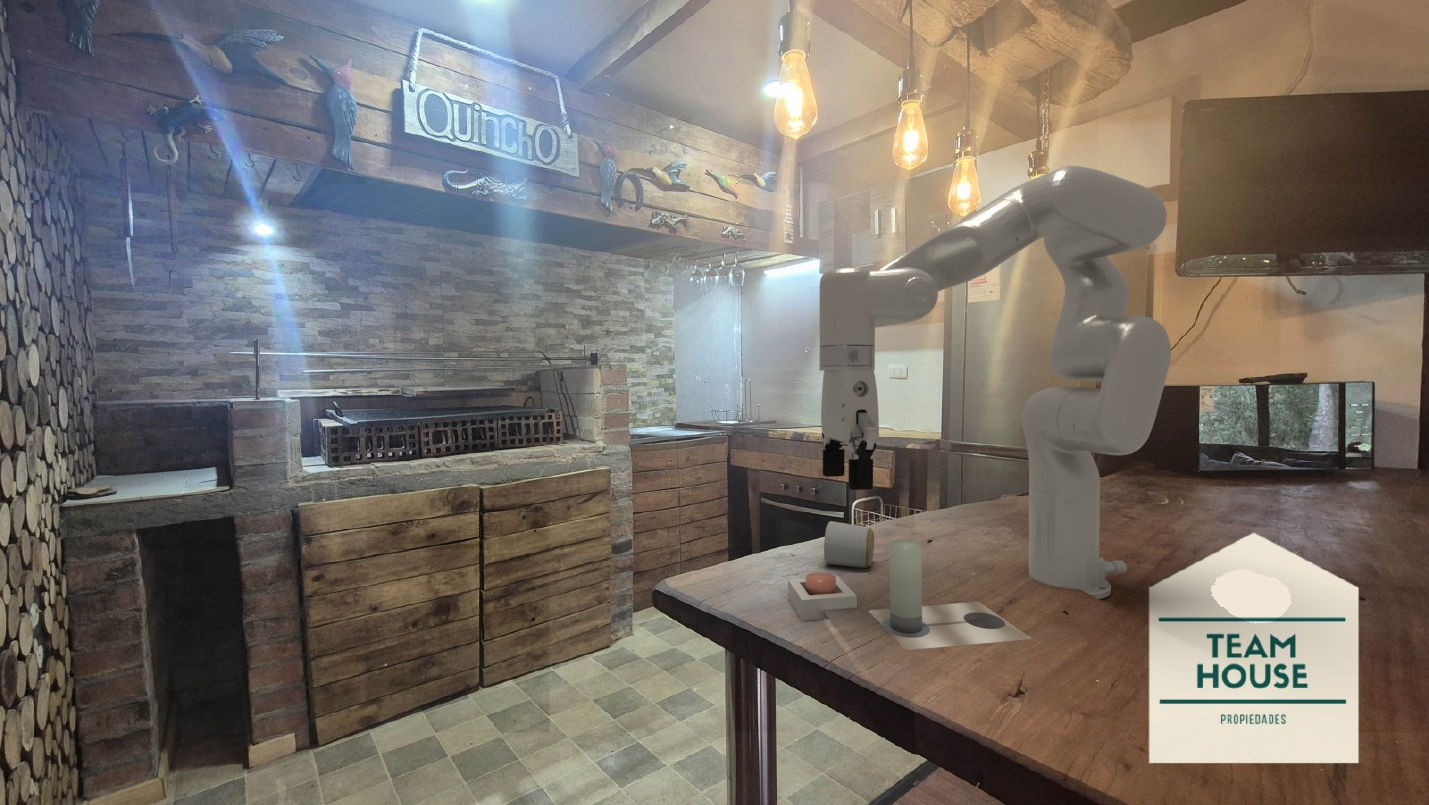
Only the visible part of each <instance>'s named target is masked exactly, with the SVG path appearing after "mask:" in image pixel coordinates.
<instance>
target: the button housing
mask: <svg viewBox="0 0 1429 805" xmlns="http://www.w3.org/2000/svg"><path fill="white" fill-rule="evenodd" d="M834 576H835V577H836V593H835V594H822V595H811V594H809V593H807V591H806V577H805V578H793V579H788V580H787V584H788V585H787V590H788V592H787V594H788V595H787V596H788V597H787V598H788V601H789V602H790V604H791V605H792V606H793V608H794V609H795V612H796V613H797V614H798V617H799V618H800V619H801V621H802V622H803V621H816V620H817V621H818V620H827V619H830V617H829V616H828V615H827V614H826V612H825V611H831V610H833V611H834V610H843V609H856V608H858V604H857V603H858V602H857V601H858V600H857V599H858V598H857V597H858V596H857V595H856V593H854V591H852V590H851V588H850V587H849V586H848V585H847V584H846V583H845V581H843V579H841V578H840V577H839V576H838V575H834Z"/></svg>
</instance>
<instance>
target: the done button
mask: <svg viewBox="0 0 1429 805" xmlns="http://www.w3.org/2000/svg"><path fill="white" fill-rule="evenodd" d="M835 576H836V575H834V574H831V573H829V572H820V571H819V572H818V571H815V572H811V573H808V574H806V575H805V578H806V591H807V593H809V594H811V595H822V594H835V593H836V577H835Z"/></svg>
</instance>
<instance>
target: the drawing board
mask: <svg viewBox="0 0 1429 805" xmlns="http://www.w3.org/2000/svg"><path fill="white" fill-rule="evenodd" d="M868 612H869V613H870V614H871V615H872V616H873V617H874V619H876V621H877V622H878V623H879V624H880V625H881V626H882V628H883V629H884V630H885V631H886V632H887V633H889V634H890V636H891V637H892V638H893V639H894V640H895V641H896V642H897V643H898V644H899V645H900V646H901V647H902V648H903V649H904V651H912V650H923V649H924V650H925V649H936V648H945V647H947V648H948V647H956V646H957V647H958V646H968V645H969V646H971V645H980V644H981V645H982V644H991V643H1002V642H1014V641H1015V642H1016V641H1027V640H1032V639H1033V638H1032V637H1031V636H1029V635H1028V634H1026V633H1025V632H1023V631H1022V630H1020V629H1018V628H1017V626H1014V625H1013V624H1011V623H1010V622H1009V621H1007V620H1006V619H1004V618H1003V617H1001V616H1000V615H999V614H997V613H996V612H995V611H993V610H991V609H990V608H989V607H987V606H985V605H984V604H982V603H981V602H980V601H971V602H961V603H960V602H959V603H947V604H933V605H932V604H931V605H922V630H921V631H920V632H918V633H914V634H907V633H901V632H898V631H895V630H894V629H892V628H891V627H890V608H882V609H880V608H879V609H869V610H868Z"/></svg>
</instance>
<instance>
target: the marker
mask: <svg viewBox="0 0 1429 805" xmlns="http://www.w3.org/2000/svg"><path fill="white" fill-rule="evenodd" d="M888 545H889V547H888V554H889V562H888V563H889V609H890V627H891V628H892V629H894V630H895V631H898V632H901V633H907V634H914V633H918V632H920V631H921V630H922V606H923V589H922V588H923V579H922V578H923V575H922V574H923V572H922V568H923V565H922V564H923V563H922V561H923V559H922V558H923V555H922V554H923V550H922V549H923V548H922V544H921V543H920V542H917V541H914V540H908V539H895V540H892V541H889V544H888Z"/></svg>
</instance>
